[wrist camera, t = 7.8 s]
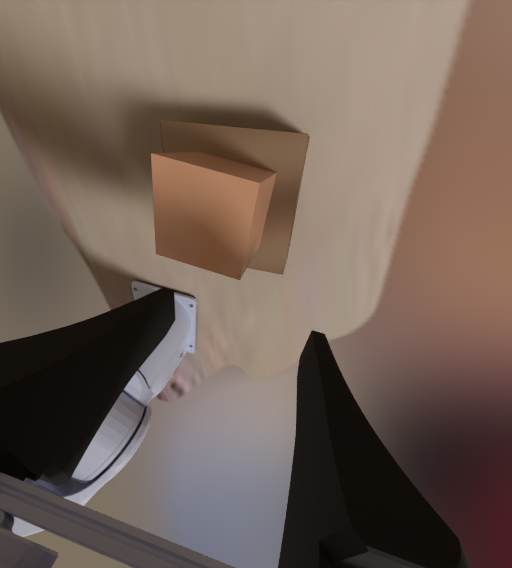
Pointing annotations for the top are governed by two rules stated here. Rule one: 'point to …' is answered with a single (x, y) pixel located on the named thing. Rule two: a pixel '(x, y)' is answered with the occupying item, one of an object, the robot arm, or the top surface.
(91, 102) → the top surface
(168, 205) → the terracotta cube
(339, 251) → the top surface
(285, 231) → the walnut block
